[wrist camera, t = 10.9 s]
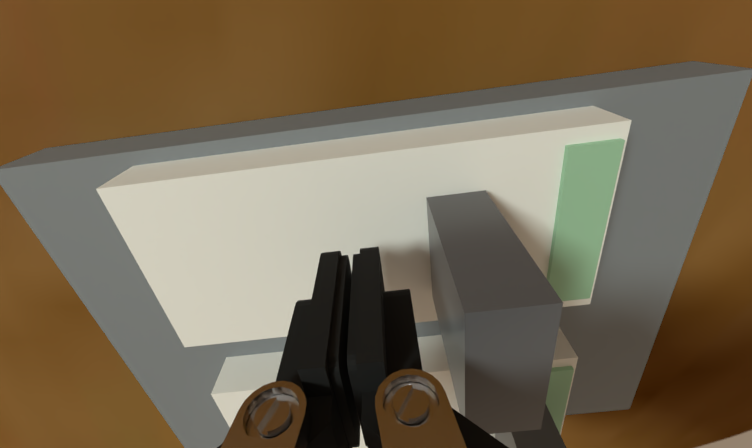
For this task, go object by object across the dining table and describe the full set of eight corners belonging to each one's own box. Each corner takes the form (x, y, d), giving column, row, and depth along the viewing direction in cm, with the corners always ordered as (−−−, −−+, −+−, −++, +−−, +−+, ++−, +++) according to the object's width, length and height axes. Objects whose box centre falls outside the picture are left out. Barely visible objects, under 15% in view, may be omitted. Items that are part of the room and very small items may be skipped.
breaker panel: (45, 148, 15) (-77, 197, 11) (693, 61, 14) (831, 78, 10) (203, 411, 24) (169, 492, 20) (604, 371, 23) (656, 449, 18)
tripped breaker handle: (426, 197, 11) (464, 313, 7) (485, 190, 11) (563, 302, 7) (432, 296, 13) (465, 436, 9) (482, 291, 13) (540, 429, 9)
